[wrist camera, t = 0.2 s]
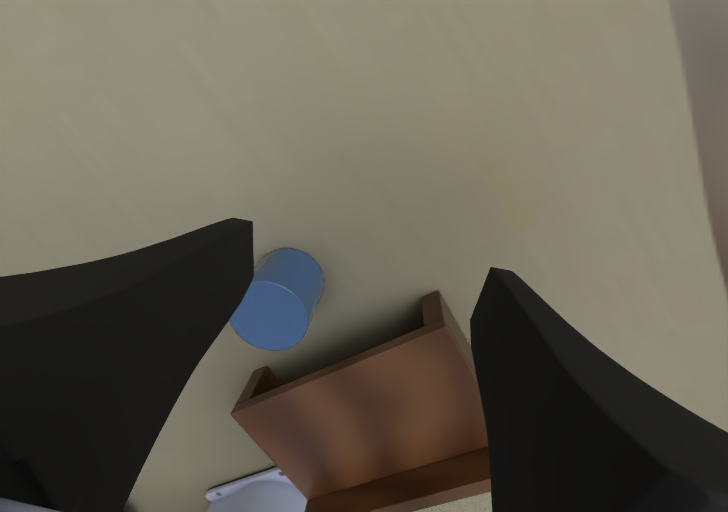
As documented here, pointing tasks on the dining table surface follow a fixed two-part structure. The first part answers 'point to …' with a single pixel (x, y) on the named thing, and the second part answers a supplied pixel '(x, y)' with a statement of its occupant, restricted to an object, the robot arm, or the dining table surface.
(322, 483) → the shelf
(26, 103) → the dining table surface
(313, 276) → the blue cup
